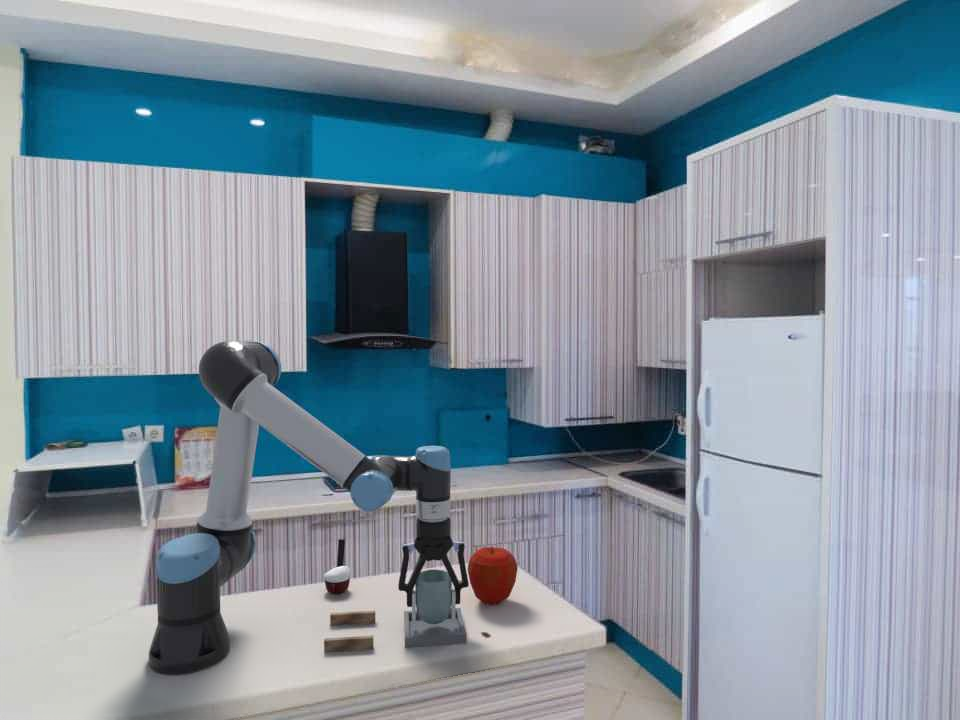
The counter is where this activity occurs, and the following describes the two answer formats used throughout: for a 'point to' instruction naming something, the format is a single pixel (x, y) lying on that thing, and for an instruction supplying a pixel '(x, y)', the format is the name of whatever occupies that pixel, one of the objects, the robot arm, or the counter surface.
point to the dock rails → (350, 642)
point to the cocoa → (338, 573)
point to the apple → (492, 574)
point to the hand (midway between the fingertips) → (433, 619)
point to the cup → (433, 596)
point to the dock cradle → (434, 631)
